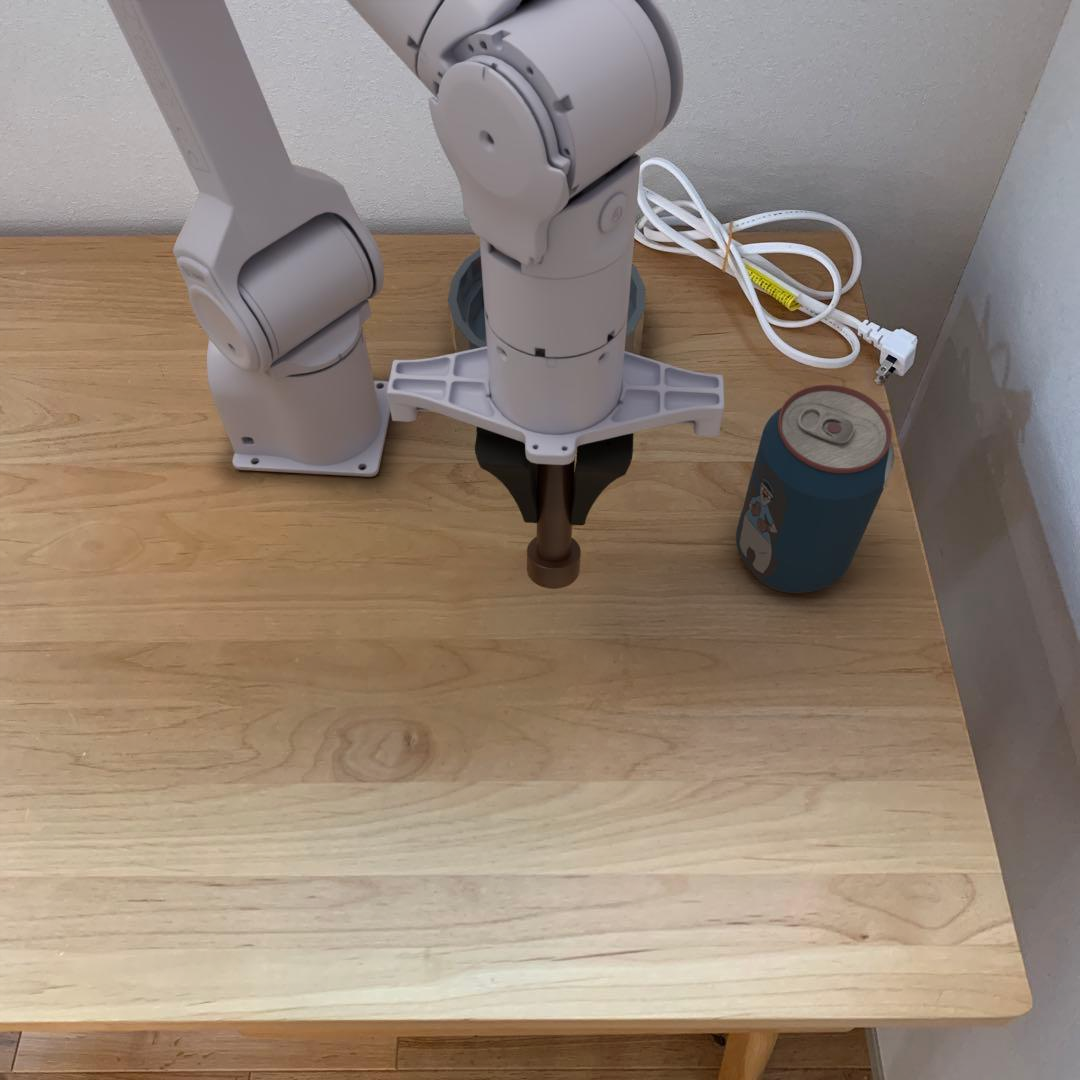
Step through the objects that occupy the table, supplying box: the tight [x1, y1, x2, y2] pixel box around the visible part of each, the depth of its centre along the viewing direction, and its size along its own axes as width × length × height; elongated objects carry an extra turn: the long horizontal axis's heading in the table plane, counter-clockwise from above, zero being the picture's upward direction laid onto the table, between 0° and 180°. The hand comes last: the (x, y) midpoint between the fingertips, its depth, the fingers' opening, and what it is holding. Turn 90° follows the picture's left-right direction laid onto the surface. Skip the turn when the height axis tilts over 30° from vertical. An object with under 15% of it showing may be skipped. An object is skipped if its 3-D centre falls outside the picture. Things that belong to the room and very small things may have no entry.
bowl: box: [447, 247, 646, 356], centre depth 71 cm, size 13×13×4 cm
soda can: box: [735, 384, 895, 594], centre depth 57 cm, size 7×7×12 cm
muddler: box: [526, 457, 582, 590], centre depth 51 cm, size 3×3×8 cm
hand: (554, 508), depth 52 cm, fingers closed on muddler, 2 cm apart
